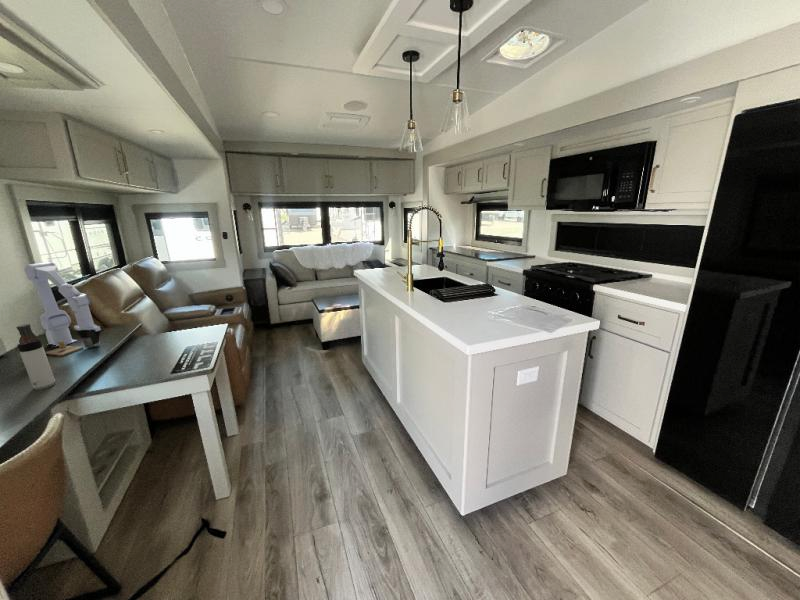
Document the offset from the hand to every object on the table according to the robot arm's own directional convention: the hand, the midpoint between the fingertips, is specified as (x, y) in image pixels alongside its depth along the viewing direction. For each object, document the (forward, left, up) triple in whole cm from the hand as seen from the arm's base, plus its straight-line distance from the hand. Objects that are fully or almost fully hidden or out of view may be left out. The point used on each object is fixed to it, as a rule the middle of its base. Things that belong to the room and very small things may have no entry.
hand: (91, 342), depth 167 cm
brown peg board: (-9, -7, -3) cm, 12 cm away
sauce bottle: (-4, -20, -3) cm, 21 cm away
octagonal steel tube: (0, 0, -1) cm, 1 cm away
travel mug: (+23, -34, -3) cm, 41 cm away
